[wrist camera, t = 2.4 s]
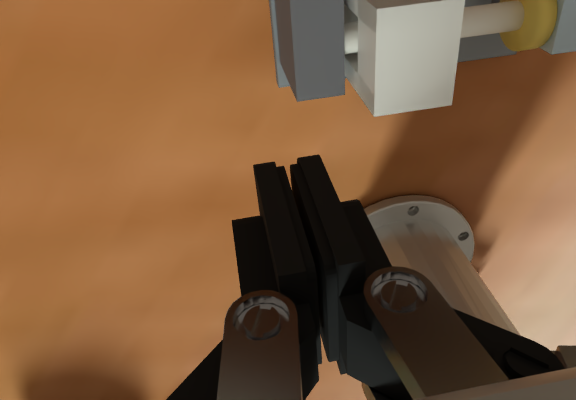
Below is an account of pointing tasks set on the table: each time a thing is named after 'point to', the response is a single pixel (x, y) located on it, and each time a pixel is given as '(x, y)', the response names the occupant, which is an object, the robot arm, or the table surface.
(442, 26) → the grooved white cube
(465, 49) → the rail
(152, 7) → the table surface
